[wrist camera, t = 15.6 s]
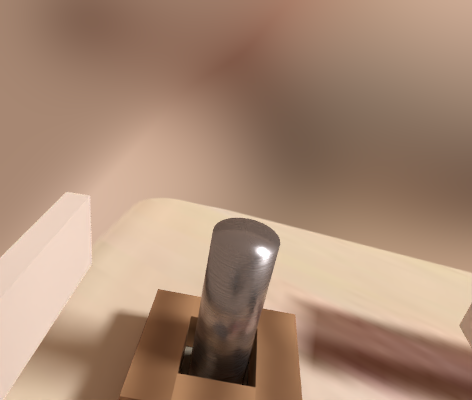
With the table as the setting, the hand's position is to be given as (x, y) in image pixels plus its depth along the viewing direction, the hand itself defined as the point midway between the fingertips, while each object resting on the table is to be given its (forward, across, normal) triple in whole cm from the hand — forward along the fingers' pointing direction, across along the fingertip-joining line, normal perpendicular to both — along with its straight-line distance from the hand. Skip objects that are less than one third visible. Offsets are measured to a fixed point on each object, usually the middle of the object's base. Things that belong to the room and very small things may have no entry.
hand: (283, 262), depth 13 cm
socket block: (+14, -1, -24) cm, 28 cm away
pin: (+14, -1, -24) cm, 28 cm away
